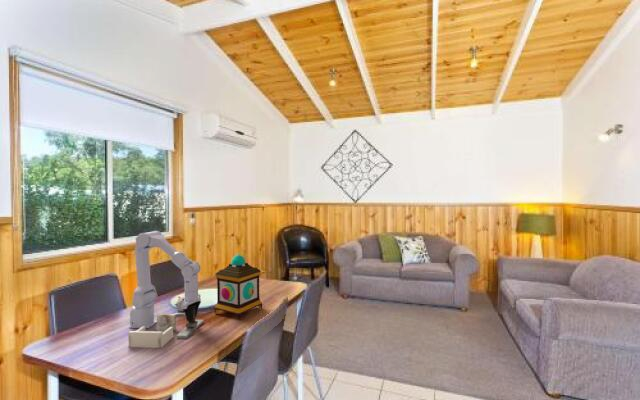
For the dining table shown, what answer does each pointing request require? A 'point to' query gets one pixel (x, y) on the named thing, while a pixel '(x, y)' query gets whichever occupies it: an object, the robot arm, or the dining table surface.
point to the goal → (149, 338)
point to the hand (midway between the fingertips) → (191, 319)
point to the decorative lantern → (238, 287)
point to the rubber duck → (162, 325)
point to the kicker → (172, 319)
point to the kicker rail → (189, 330)
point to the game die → (180, 303)
